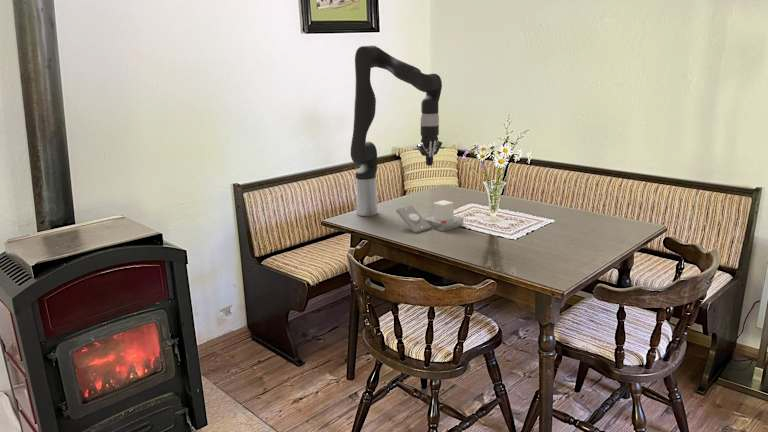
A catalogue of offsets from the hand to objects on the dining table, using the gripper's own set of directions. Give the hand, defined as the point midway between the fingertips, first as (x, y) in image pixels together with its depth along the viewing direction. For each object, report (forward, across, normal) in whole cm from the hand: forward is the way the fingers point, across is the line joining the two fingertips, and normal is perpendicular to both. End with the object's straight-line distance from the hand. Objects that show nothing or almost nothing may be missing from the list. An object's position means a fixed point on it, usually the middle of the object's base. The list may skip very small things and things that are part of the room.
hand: (429, 165), depth 245 cm
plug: (+24, -3, +6) cm, 25 cm away
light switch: (+26, +8, -1) cm, 27 cm away
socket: (+26, -3, +6) cm, 27 cm away
